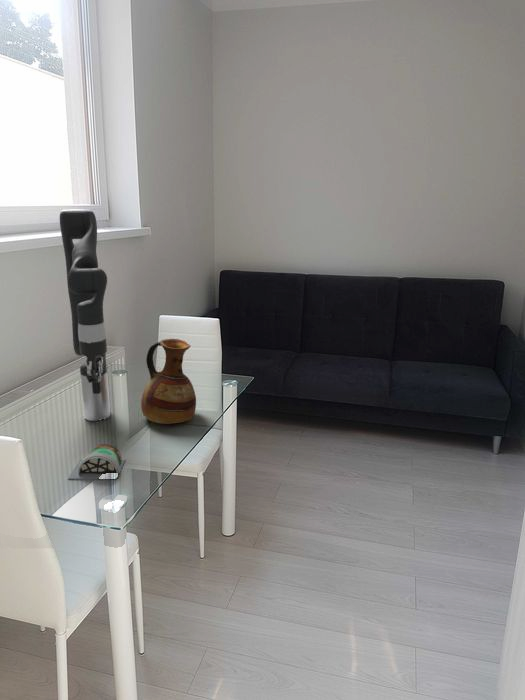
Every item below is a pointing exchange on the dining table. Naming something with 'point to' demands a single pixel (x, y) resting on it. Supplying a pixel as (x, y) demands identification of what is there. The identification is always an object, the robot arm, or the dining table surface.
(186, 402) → the ceramic pitcher
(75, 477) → the mat
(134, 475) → the dining table surface
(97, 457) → the food container
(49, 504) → the dining table surface
